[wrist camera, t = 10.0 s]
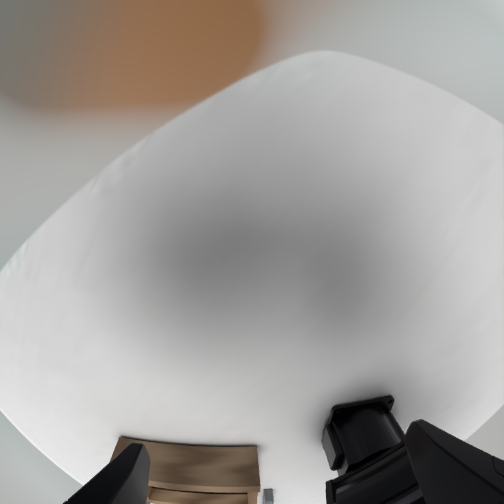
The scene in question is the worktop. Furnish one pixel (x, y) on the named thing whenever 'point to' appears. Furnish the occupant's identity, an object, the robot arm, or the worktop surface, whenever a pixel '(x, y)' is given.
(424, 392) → the worktop surface
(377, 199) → the worktop surface
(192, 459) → the brown wooden frame
